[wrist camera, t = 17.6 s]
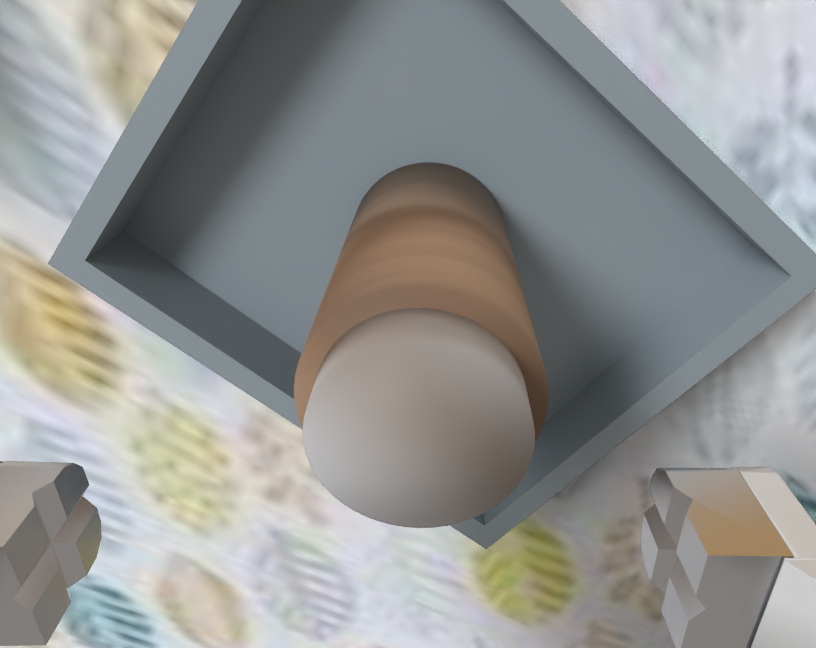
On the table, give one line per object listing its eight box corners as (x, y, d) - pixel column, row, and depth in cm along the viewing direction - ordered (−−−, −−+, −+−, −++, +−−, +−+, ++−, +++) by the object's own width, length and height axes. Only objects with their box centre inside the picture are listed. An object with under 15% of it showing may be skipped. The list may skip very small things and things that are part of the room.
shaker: (442, 332, 21) (443, 579, 12) (323, 252, 20) (230, 460, 11) (537, 224, 20) (619, 423, 11) (411, 128, 18) (384, 260, 9)
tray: (481, 481, 26) (486, 549, 23) (105, 224, 21) (48, 263, 18) (776, 230, 20) (835, 273, 17) (351, -186, 16) (328, -228, 13)
